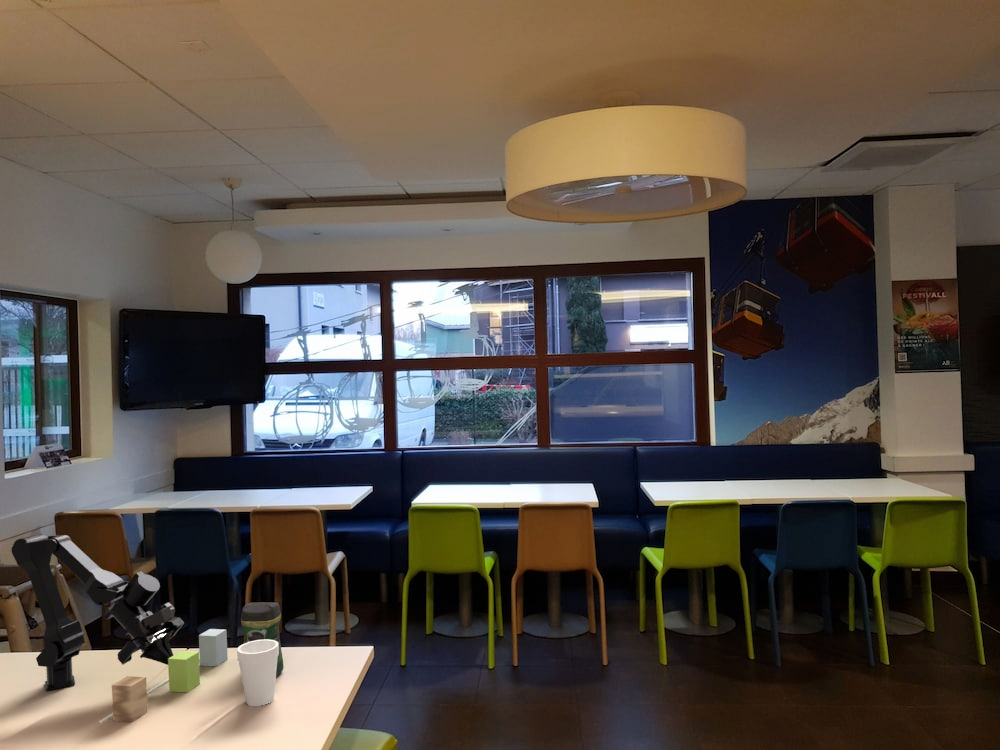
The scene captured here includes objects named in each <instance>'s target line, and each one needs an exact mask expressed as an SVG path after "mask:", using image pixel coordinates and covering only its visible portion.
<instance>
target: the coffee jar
mask: <svg viewBox="0 0 1000 750" xmlns="http://www.w3.org/2000/svg"><path fill="white" fill-rule="evenodd" d="M280 607H281V606H280V604H279V602H278V601H277V602H272V601H271V602H264V601H262V602H249V603H247V604H245V605H244V606H242V610H241V615H240V616H241V618H240V622H241V626H242V628H243V633H244V636H243V637H244V638H243V639H244V644H245V643H247V642H250V641H255V640H264V639H269V640H275V641H277V642H278V644H279V655H278V658H277V670H276V677H277V676H279V675H280V674H282V672H283V670H284V659H283V652H282V646H281V640H280V639H281V637H280V622H281V619H282V618H281V617H282V613H281V609H280Z"/></svg>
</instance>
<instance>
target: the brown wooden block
mask: <svg viewBox="0 0 1000 750" xmlns="http://www.w3.org/2000/svg"><path fill="white" fill-rule="evenodd" d="M147 691H148V690H147V677H144V676H135V675H134V676H133V675H132V676H131V675H126V676H125V677H124V678H122V679H120V680H118V681H116V682H115V683H113V684H111V697H112V700H111V701H112V702H111V703H112V713H113V717H112V719H113V720H112V721H115V722H128V723H129V722H130V723H133V722H135V721H136V720H138V719H140V718H141V717H142V716H144V715H146V714H147V713H148V709H149V707H148V695H147Z"/></svg>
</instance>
